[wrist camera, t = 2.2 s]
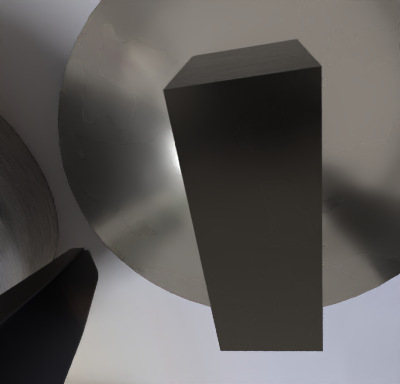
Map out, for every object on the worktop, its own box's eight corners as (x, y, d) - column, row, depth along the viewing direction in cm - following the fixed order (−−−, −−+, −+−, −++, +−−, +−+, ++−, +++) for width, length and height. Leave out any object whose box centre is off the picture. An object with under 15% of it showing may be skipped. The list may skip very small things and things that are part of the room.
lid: (526, -143, 8) (850, -299, 4) (435, 288, 15) (514, 416, 10) (10, -22, 11) (-155, -30, 6) (129, 297, 18) (88, 401, 13)
